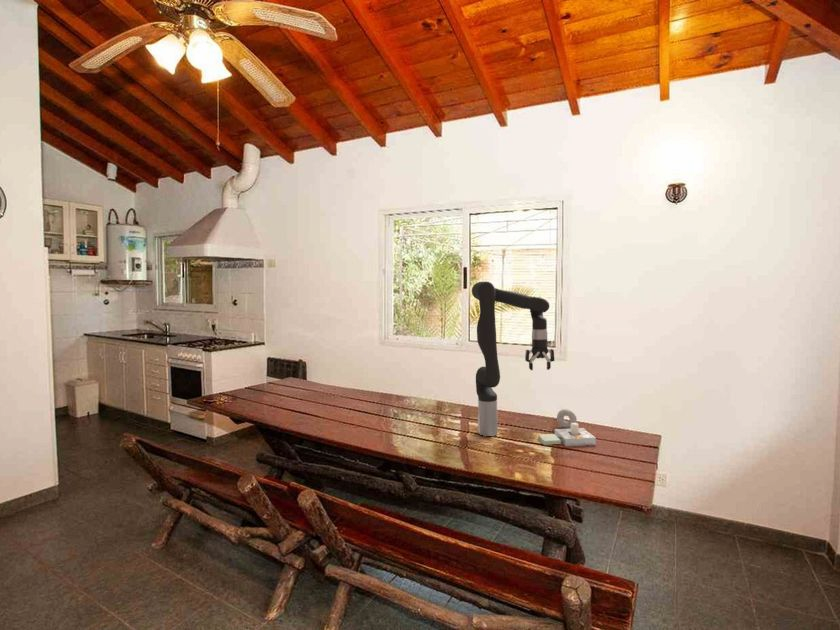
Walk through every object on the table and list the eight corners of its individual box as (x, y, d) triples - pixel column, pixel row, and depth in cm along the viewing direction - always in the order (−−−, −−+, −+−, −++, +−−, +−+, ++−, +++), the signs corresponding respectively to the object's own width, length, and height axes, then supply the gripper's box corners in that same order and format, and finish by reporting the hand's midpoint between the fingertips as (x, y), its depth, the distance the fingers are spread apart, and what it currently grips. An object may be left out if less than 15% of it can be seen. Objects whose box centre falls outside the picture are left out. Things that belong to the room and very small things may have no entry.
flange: (565, 446, 205) (565, 438, 204) (554, 436, 218) (554, 428, 218) (595, 445, 205) (595, 437, 205) (583, 435, 219) (583, 427, 219)
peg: (572, 441, 210) (572, 425, 210) (569, 439, 213) (569, 422, 213) (579, 441, 210) (579, 424, 210) (576, 439, 214) (576, 422, 213)
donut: (555, 427, 232) (555, 408, 231) (558, 425, 234) (558, 406, 234) (575, 431, 225) (575, 411, 225) (577, 429, 228) (577, 409, 228)
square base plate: (544, 445, 207) (544, 440, 207) (538, 438, 216) (538, 434, 215) (560, 444, 207) (560, 440, 207) (553, 438, 216) (553, 433, 216)
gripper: (527, 339, 224) (528, 371, 225) (556, 338, 225) (556, 370, 226) (523, 337, 232) (523, 368, 233) (551, 336, 232) (551, 368, 233)
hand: (539, 369), depth 229 cm, fingers open, 8 cm apart
